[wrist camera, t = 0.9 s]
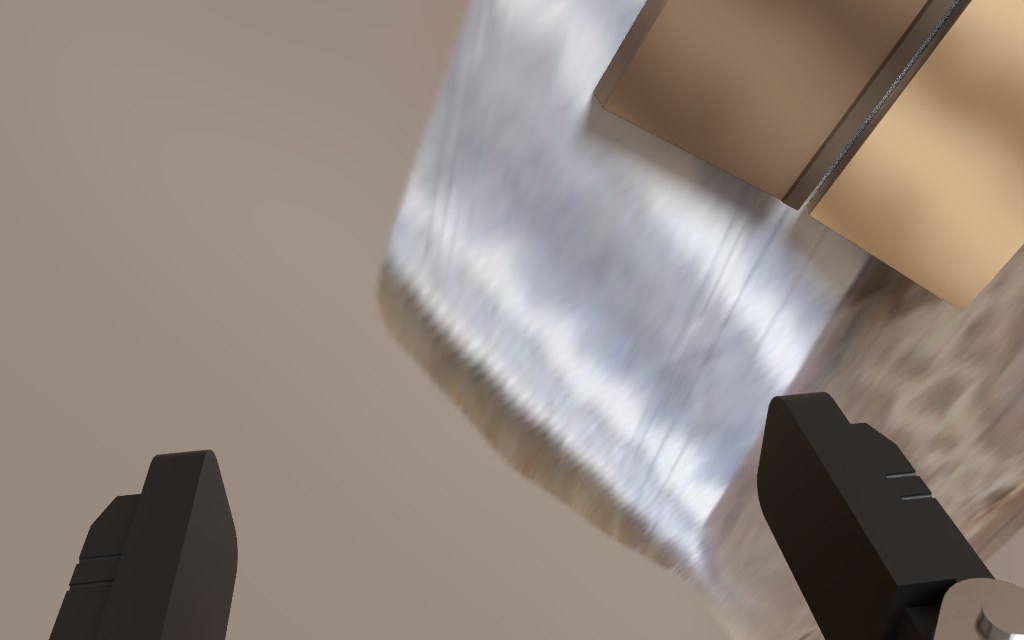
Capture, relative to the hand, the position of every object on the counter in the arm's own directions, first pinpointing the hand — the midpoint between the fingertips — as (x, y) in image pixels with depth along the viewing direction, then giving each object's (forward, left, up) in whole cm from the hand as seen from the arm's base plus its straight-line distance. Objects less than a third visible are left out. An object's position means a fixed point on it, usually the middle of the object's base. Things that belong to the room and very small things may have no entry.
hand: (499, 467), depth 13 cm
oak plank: (-8, +23, -24) cm, 34 cm away
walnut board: (-8, +13, -26) cm, 30 cm away
